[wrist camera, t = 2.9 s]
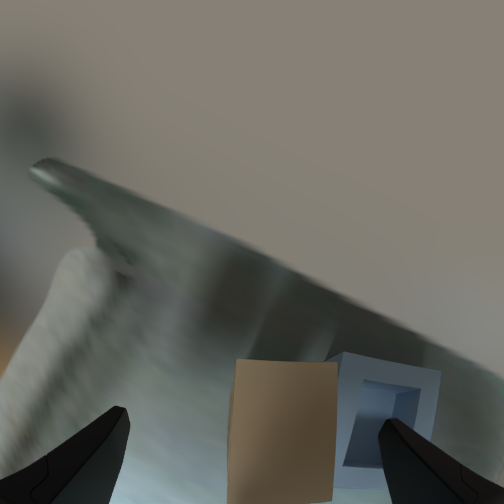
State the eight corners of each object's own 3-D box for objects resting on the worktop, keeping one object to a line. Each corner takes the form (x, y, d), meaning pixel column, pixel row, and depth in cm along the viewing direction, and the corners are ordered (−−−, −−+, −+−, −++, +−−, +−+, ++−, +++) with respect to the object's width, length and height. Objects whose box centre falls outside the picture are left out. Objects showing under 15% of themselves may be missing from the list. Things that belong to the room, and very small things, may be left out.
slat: (260, 439, 15) (331, 501, 4) (227, 437, 15) (227, 504, 4) (263, 393, 17) (337, 362, 5) (230, 391, 17) (236, 358, 5)
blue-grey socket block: (389, 479, 14) (417, 488, 11) (293, 471, 14) (308, 484, 11) (412, 379, 17) (441, 370, 14) (324, 361, 18) (343, 351, 15)
